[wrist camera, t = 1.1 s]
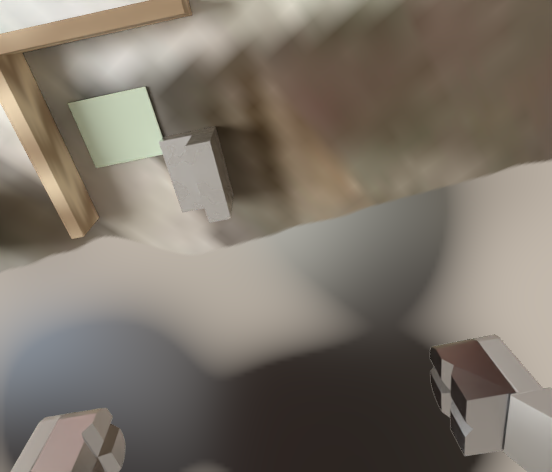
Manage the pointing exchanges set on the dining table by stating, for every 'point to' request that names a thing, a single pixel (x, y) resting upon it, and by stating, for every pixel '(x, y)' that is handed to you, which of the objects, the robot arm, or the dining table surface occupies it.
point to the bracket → (199, 172)
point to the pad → (118, 127)
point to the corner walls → (35, 114)
